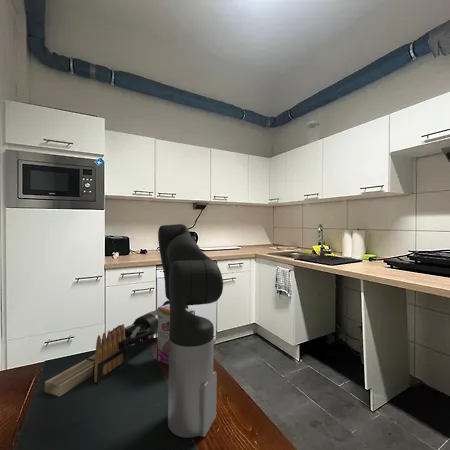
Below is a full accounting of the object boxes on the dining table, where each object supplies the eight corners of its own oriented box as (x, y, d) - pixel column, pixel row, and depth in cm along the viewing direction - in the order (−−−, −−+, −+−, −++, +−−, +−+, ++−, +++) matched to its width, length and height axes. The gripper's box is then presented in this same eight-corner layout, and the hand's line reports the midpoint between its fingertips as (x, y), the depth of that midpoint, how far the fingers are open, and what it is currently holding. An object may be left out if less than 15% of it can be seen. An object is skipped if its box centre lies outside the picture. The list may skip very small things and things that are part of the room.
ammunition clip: (97, 384, 66) (98, 336, 66) (92, 382, 66) (93, 335, 67) (126, 364, 76) (127, 323, 76) (121, 363, 76) (122, 322, 77)
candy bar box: (155, 361, 77) (156, 307, 78) (167, 355, 81) (168, 303, 82) (183, 373, 71) (184, 313, 72) (195, 365, 75) (195, 309, 76)
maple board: (110, 363, 76) (111, 355, 76) (59, 396, 61) (59, 385, 61) (97, 360, 77) (97, 352, 77) (44, 391, 62) (45, 381, 62)
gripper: (133, 310, 90) (93, 327, 74) (168, 315, 85) (133, 335, 69) (132, 332, 90) (92, 354, 74) (167, 338, 85) (133, 363, 69)
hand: (112, 344), depth 72 cm, fingers open, 4 cm apart
